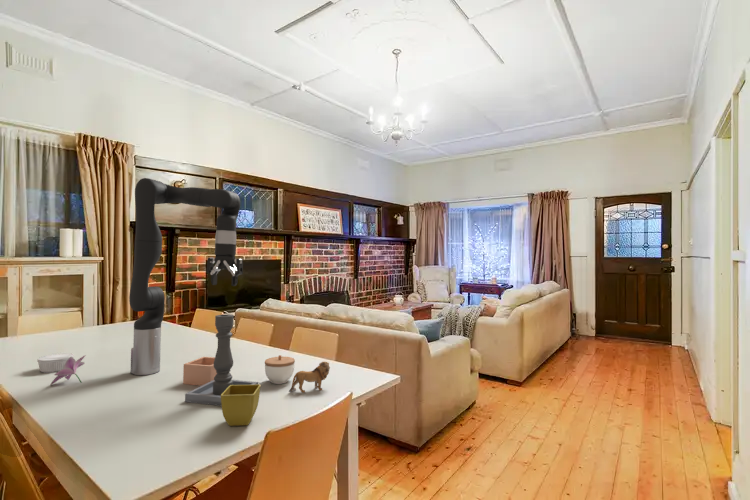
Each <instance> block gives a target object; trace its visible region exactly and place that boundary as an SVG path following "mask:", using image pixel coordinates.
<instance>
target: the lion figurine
mask: <svg viewBox="0 0 750 500" xmlns="http://www.w3.org/2000/svg"><path fill="white" fill-rule="evenodd" d="M330 368H331V367H330V363H329V362H328V361H325V360H323V361H321V362H319V365H318V366H317V367H315V368H314V369H313V370H309V371H306V370H300V371H298V372H296V373H295V374H294V375H293V379H292V383H291V387H290V389H289V390H288V392H290V393H291V391H296V390H297V389H296V385H298V384H299V385H298V389H299V390H300V392H301V394H302V393H306V390H305V389H304V388H303V385H304V382H307V383H314V388H315V389H318V391H323V388H322V381H324V380H326V379H327V376H328V375H329V372H330Z"/></svg>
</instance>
